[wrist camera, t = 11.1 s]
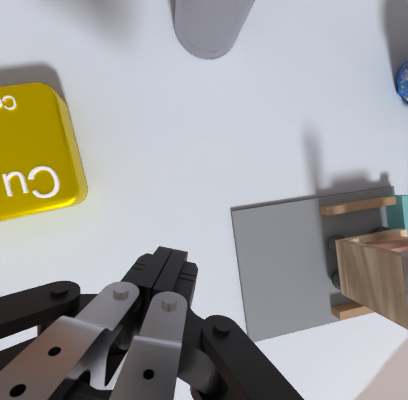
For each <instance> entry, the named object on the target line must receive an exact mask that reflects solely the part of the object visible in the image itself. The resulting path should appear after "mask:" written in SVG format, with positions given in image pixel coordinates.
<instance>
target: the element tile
mask: <svg viewBox="0 0 408 400" xmlns="http://www.w3.org/2000/svg"><path fill="white" fill-rule="evenodd" d="M87 193H88V186H87V182H86V178H85V174H84V170H83V166H82V162H81V158H80V154H79V150H78V146H77V142H76V138H75V134H74V130H73V126H72V122H71V118H70V114H69V110H68V107H67V105H66V103H65V102H64V100H63V99H62V98H61V97H60V96H59V95H58V94H57V93H56V92H55V91H54V90H53V89H52V88H51V87H49V86H48V85H46V84H43V83H39V82H31V83H24V84H17V85H10V86H3V87H0V222H2V221H7V220H11V219H16V218H21V217H25V216H30V215H34V214H39V213H43V212H48V211H52V210H57V209H62V208H66V207H71V206H75V205H78V204H80V203H81V202H83V201H84V200H85V198H86V197H87Z"/></svg>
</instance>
